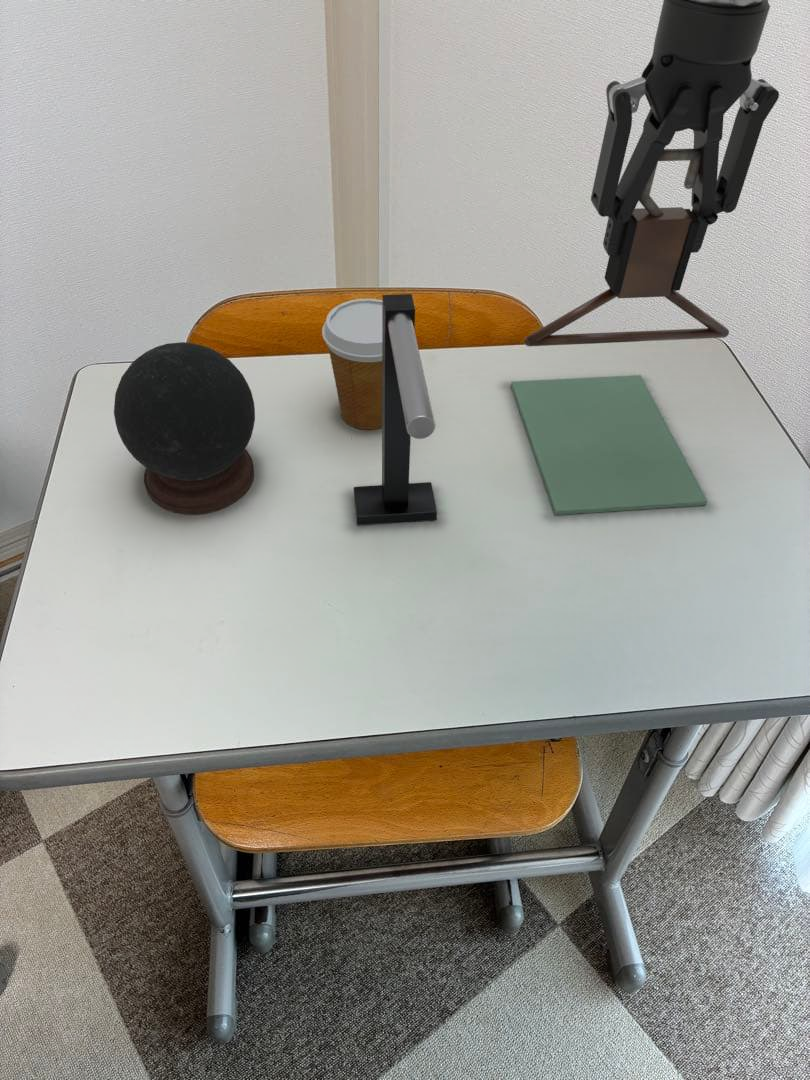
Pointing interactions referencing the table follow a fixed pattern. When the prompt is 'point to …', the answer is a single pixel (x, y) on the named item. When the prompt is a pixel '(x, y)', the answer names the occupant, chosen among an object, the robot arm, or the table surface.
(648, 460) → the mat
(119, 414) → the black ball on stand
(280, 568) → the table surface
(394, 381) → the black and grey stand
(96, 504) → the table surface
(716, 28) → the robot arm
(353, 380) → the disposable coffee cup
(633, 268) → the hanger
